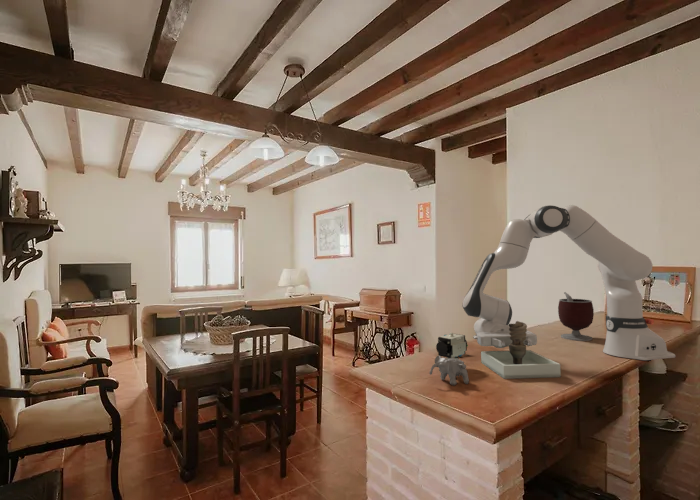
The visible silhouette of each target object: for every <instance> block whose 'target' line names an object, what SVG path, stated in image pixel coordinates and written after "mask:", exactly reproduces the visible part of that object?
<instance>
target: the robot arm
mask: <svg viewBox="0 0 700 500" xmlns="http://www.w3.org/2000/svg"><path fill="white" fill-rule="evenodd" d="M557 232H561V233H563V234H565V235H566V236H567V237H568V238H569V239H570V240H571V241H572V242H574V244H576V245H577V246H578V247H579V248H580V249H581V250H582V251H583V252H585V254H587V255H588V256H590V257H591V258H593V259H595V260H596V261H597V268H598V271H599V272H600V274H601V277H602V278H601V279H602V283H603V287H604V291H605V296H606V315H605V327H606V335H605V342H604V346H603V350H602V352H603V353H604V354H607V355H610V356H614V357H619V358H627V359H634V360H640V361H652V360H663V359H672V358H673V359H674V358H676V354H675V353H673V352H671V351H668V347H667V344H666V341H665V339H664V338H663V337H661V336H660V335H659V334H657V332H654V331H653V330H652V329H650V328H649V327H648V325H654V323H655V320H654V319H651V318H645V317H643V315H644V314H643V297H642V294H641V293H640V291H639V289H638V285H637V283H636V281H640V280H642V279H645V278H647V277H648V276H650V274H651V272H653V263H652V260H651V259H650V257H649V256H648V255H646V254H644V253H642V252H640V251H638V250H636V249H635V248H634V247H632V246H631V245H630V244H628V243H627V242H626V241H623V240H622V239H620V238H619V237H618V236H615V235H614V234H613V233H612V232H611V231H609V230H608V229H607V228H606V227H605V226H604V225H602V223H600V222H599V221H598V220H597V219H596V218H595V217H593V216H592V215H591V214H590V213H588V212H586V211H585V210H583V209H582V208H581V207H579V206H577V205H574V204H572V205H571V204H570V205H567V206H565V207H559V206H556V205H545V206H542V207H540V208H537V209H535V210H534V211H532V213H530V214H528V216H526V217H525V218H524V219H520V218H516V219H512V220H510V221H508V222H507V224H506V226H505V228H504V229H503V232H502V234H501V238H500V239H499V240H500V241H499V243H498V246H497V248H496V249H495V250H494V252H492V253H489V254H488V255H487V256H486V257H485V259H484V261H483V262H482V264H481V266H480V268H479V270H478V272H477V274H476V276H475V278H474V279H473V282H472V285H471V286H470V288H469V289H468V291H467V293H466V294H465V296H464V298H463V300H462V306H461V307H462V308H463V311H464V312H465V313H466V315H467V316H468V317H474V318H478V319H477V320H476V321H475V322H474V324H473V329H474V333H475V335H473V336H472V338H473V339H474V340H476V343H477V344H478V345H479V346H481V347H494V348H497V349H504V348H507V347H508V348H509V344H511V343H512V340H511V339H510V336H511V335H510V334H509V333H510V330H509V328H510V327H509V324H511V321H512V317H513V310H512V305H511V304H510V302H509V301H508V300H507V299H503V298H500V297H497V296H493V295H489V294H486V293H484V290H485V288H486V286H487V284H488V282H489V280H490V278H491V276H492V274H494V272H497V271H499V270H510V269H515V268H519V267H520V266H521V265H523V264H524V263H525V261H526V259H527V257H528V254H529V250H530V245H531V243H532V241H533V239H540V238H544V237H545V238H546V237H550V236H552V235H553V234H554V233H557ZM537 343H538V336H537V334H536V333H533V332H532V331H530V330H527V331H526V339H525V340H524V341H523V344H524V345H526V347H532V346H536V345H537Z"/></svg>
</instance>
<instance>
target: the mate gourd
mask: <svg viewBox="0 0 700 500" xmlns="http://www.w3.org/2000/svg"><path fill="white" fill-rule="evenodd" d="M563 294H564V295H565V298H561V299H559V301H558V307H557V309H558V310H557V313H558V319H559V322H561V325H563V326H564V327H567V328H568V329H570V330H572V331H571V333H563V334H560V338H562V339H563V340H564V339H565V340H569V341H577V342H579V341H580V342H588V341H592V340H593V337H592V336H589V335H586V334H581V331H582V330H584V329H587V328H589V327H590V326H591V324H592V323H593V322H594V317H595V316H594V306H593V300H590V299H585V298H584V299H583V298H572V296H571V295H570V294H569V293H567V292H566V291H565V292H563ZM580 330H581V331H580Z"/></svg>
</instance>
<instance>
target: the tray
mask: <svg viewBox="0 0 700 500" xmlns="http://www.w3.org/2000/svg"><path fill="white" fill-rule="evenodd" d="M480 361H481V362H480V364H481V363H482V365H484V366H486V368H488V369H489V370H491V371H492V372H493V373H495V374H497V375H498V376H499V377H500V378H502V379H505V380H506V379H507V380H508V379H509V380H510V379H511V380H512V379H541V378H542V379H544V378H561V377H562V376H561V374H562V373H561V372H562V371H561V363H559V362H557V361H554V360H552V359H550V358H548V357H546V356H544V355H542V354H539V353H538V352H535V351H533V350H530V349H528V350H527V349H526V354H525V355H524V357H523V358H522V364H517V365H516V364H514V363H513V357H512V355H511V354H510V352H509V350H489V351H486V350H485V351H481V352H480Z"/></svg>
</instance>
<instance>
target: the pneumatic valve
mask: <svg viewBox="0 0 700 500" xmlns="http://www.w3.org/2000/svg"><path fill="white" fill-rule="evenodd" d="M444 335H445V336H444ZM444 335H442V336H438V338H437V343H436V344H435V345H436V346H435V348H436V351H437V353H438V355H437V356H441V357H442V358H446V359H451V358H453V359H458V360H460V358H458V357H460V356H459V355H462V356H463V355H465V354H466V351H468V346H467V345H468V341H467V339H466V335H465V334H460V333H459V334H458V333H454V332H449V334H444Z"/></svg>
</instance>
